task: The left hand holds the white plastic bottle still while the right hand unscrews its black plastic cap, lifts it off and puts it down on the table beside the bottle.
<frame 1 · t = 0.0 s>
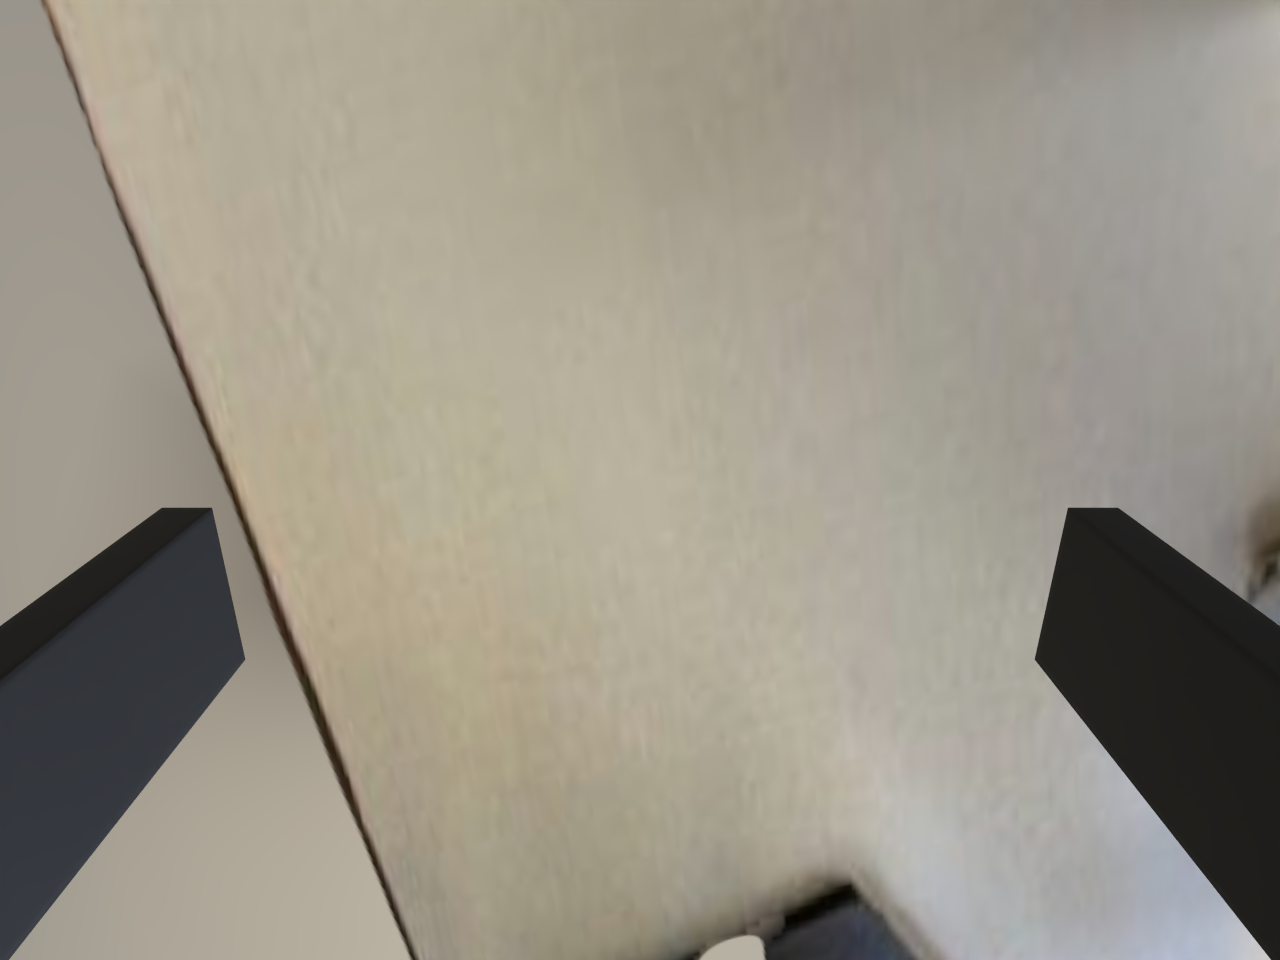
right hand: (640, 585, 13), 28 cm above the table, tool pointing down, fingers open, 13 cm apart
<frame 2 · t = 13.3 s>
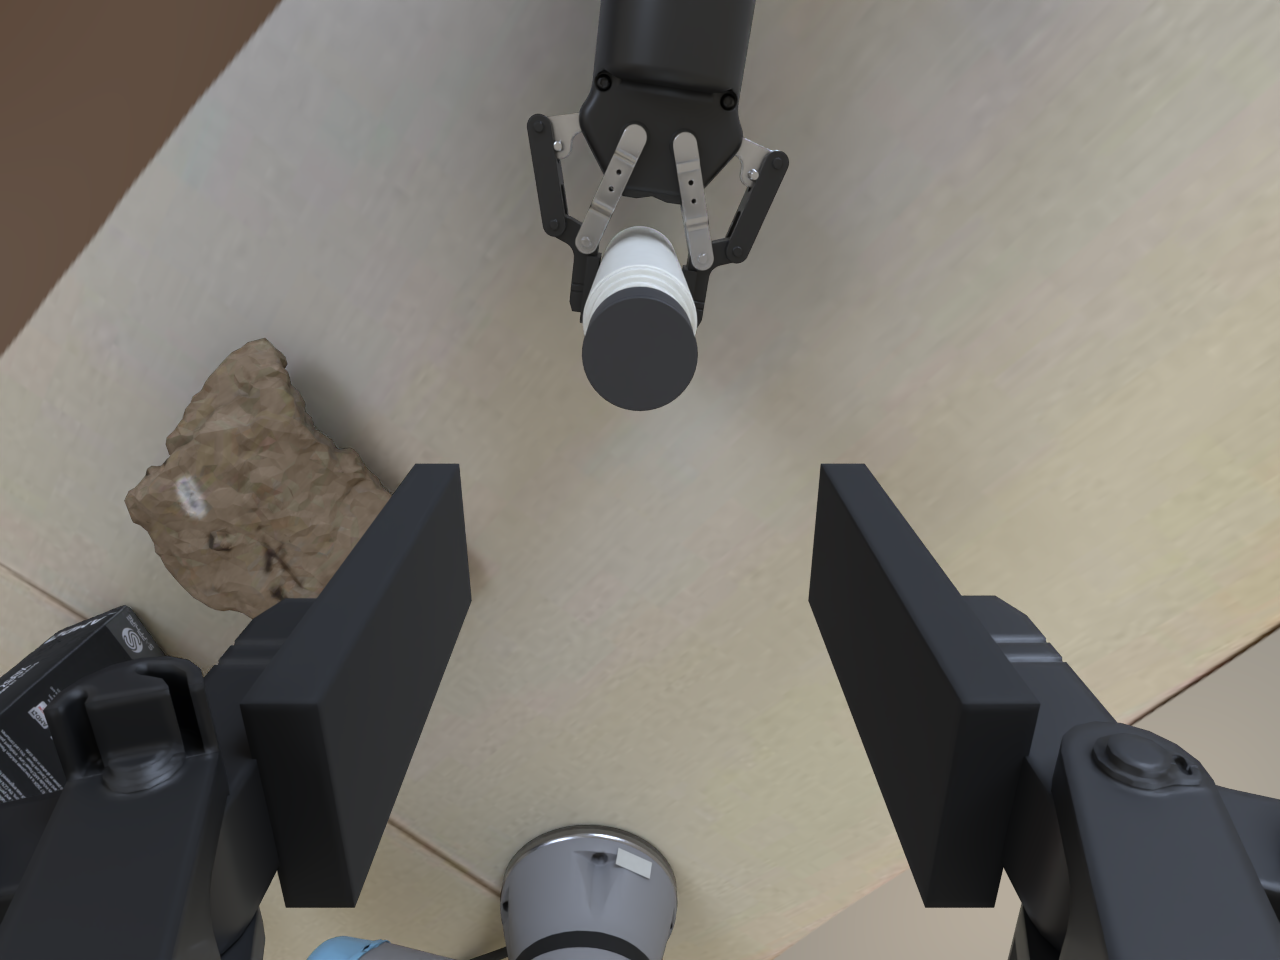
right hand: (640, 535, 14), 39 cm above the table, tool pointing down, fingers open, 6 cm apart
left hand: (634, 326, 45), fingers closed on bottle, 4 cm apart
bottle: (640, 264, 50), on the table, touching left hand
graphics card box: (162, 694, 63), on the table
cap: (639, 353, 27), point 25 cm above the table, screwed on, not yet turned
stone: (312, 505, 56), on the table
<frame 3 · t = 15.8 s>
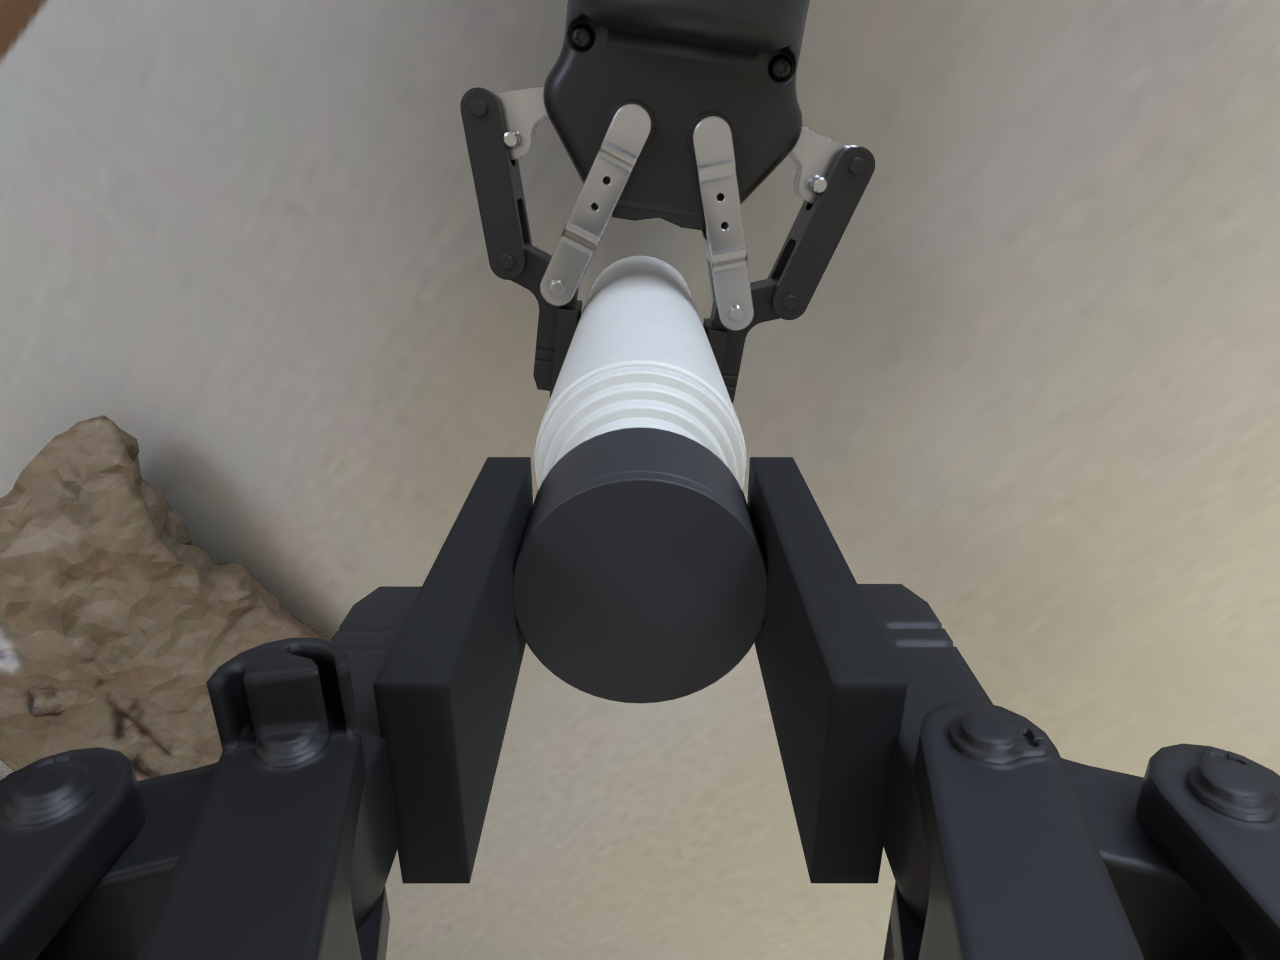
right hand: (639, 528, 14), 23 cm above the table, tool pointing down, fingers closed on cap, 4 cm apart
left hand: (631, 409, 30), fingers closed on bottle, 4 cm apart
bottle: (640, 309, 35), on the table, touching left hand
cap: (640, 588, 12), point 25 cm above the table, screwed on, not yet turned, touching right hand
stone: (194, 630, 42), on the table
when the right hand's fingers open (1 cm above the table, at t = 35.7 s): cap drops 1 cm, point 2 cm above the table.
when the left hand's fingers open (7 cm above the table, at t = 37.0 s): bottle stays where it is, on the table.
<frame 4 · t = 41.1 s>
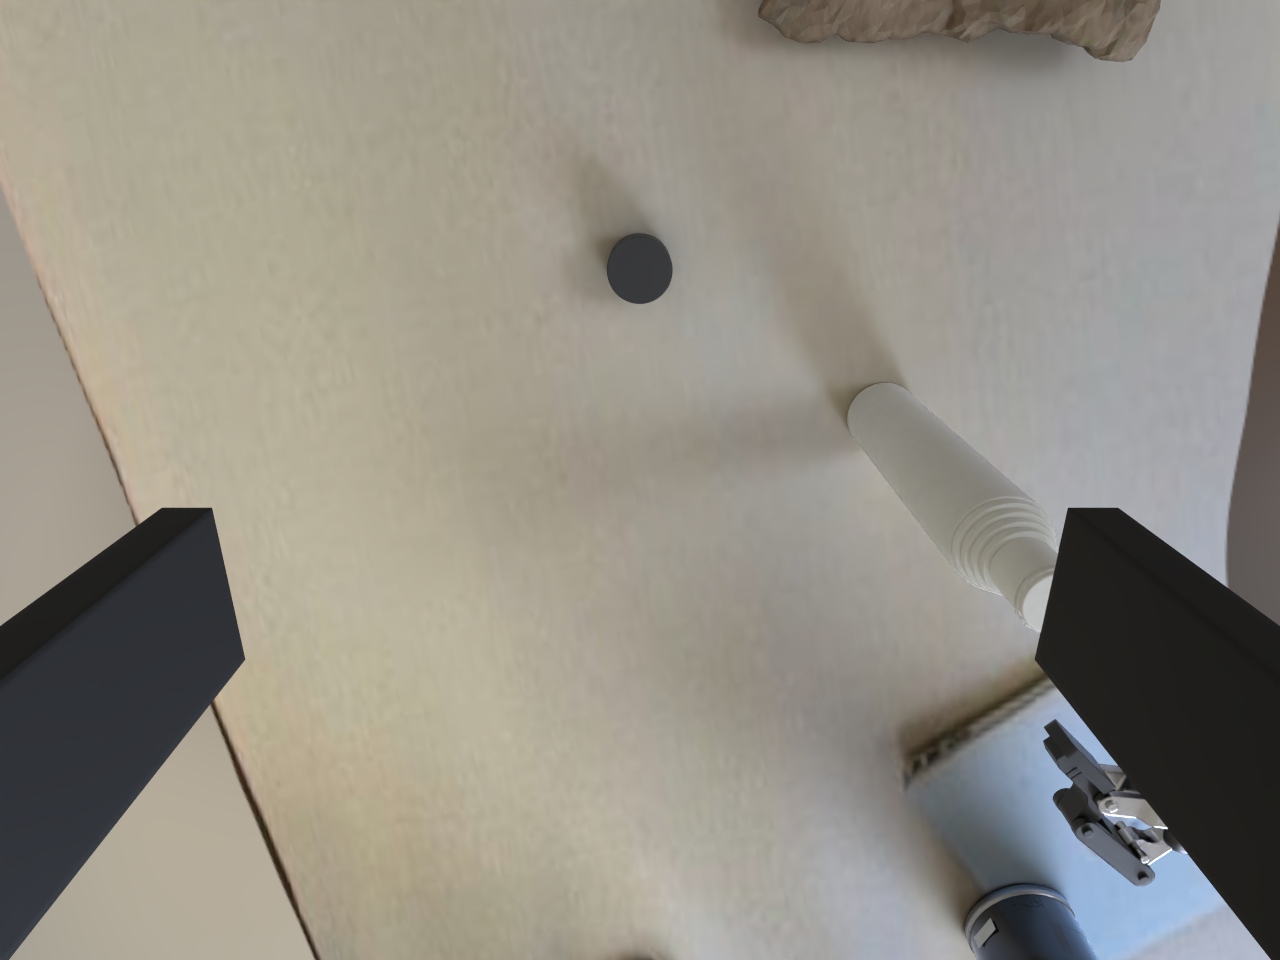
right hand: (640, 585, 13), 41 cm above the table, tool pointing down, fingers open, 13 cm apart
bottle: (881, 415, 54), on the table
cap: (639, 270, 48), point 2 cm above the table, off its thread
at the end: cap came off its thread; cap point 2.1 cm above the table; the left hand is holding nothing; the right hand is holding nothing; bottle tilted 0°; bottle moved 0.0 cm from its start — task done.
